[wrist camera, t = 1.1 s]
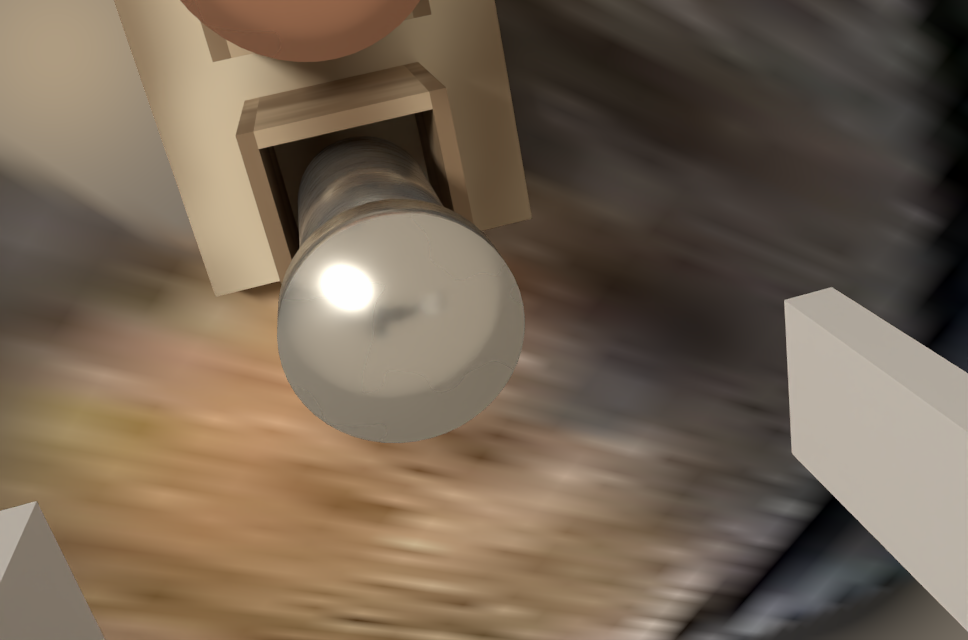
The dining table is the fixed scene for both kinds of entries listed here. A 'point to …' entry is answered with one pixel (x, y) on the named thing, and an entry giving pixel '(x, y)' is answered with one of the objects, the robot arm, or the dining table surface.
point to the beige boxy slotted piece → (323, 123)
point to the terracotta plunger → (302, 25)
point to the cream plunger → (392, 300)
